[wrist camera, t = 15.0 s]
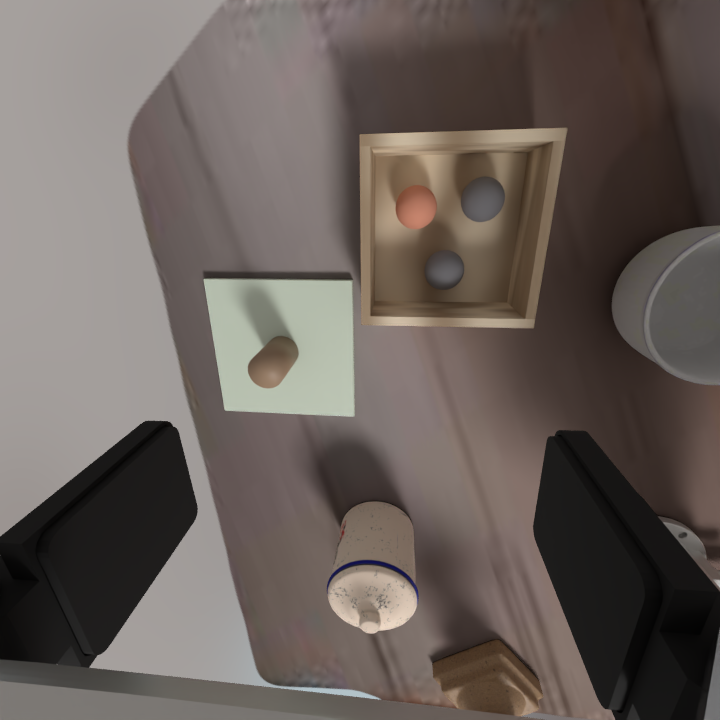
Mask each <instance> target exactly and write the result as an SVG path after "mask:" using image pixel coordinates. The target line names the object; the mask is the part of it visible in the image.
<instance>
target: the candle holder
mask: <svg viewBox="0 0 720 720" xmlns="http://www.w3.org/2000/svg"><path fill="white" fill-rule="evenodd" d="M432 665H433V678H434V679H435V680H436V681H437V682H438V683H439V684H440V686H441V687H442V691H443V693H444V695H445V696H446V697H447V698H448V699H449V700H450V701H451V702H452V703H453V704H454V705H455V706H456V707H457V708H458V709H463V710H471V711H480V712H488V713H497V714H505V715H513V716H523V715H526V714H529V713H532V712H535V711H537V710H538V708H539V705H538V700H539V699H541V698H543V693H542V690H541V686H540V683H539V680H538V679H537V678H536V677H535V675H534V674H533V673H532V672H531V671H530V670H529V669H528V668H527V667H526V666H525V665H524V664H523V663H522V662H521V661H520V660H519V659H518V658H517V657H516V656H515V655H514V654H513V653H512V652H511V650H510V649H509V648H508V647H507V646H506V645H505V644H503V643H502V642H501V641H500V640H498V639H495V640H492V641H489V642H486V643H483V644H480V645H478V646H475V647H472V648H469V649H467V650H464V651H461V652H459V653H456V654H453V655H451V656H448V657H445V658H443V659H440V660H438V661H436V662H434V663H433V664H432Z"/></svg>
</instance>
